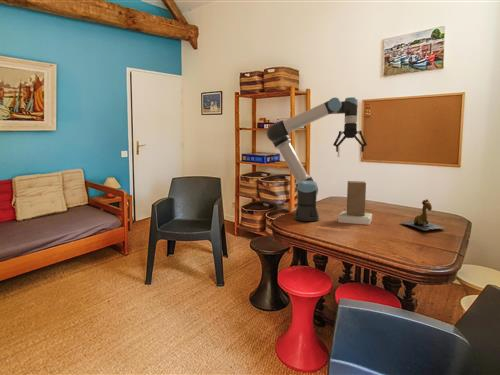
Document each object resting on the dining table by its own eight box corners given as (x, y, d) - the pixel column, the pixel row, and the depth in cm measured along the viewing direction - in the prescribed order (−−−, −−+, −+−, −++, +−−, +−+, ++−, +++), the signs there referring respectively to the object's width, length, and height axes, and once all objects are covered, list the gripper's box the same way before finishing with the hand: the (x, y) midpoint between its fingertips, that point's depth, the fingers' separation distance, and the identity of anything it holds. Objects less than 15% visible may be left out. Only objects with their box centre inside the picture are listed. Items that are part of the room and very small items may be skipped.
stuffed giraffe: (423, 230, 184) (425, 201, 182) (399, 223, 201) (400, 197, 199) (446, 228, 189) (447, 200, 187) (420, 222, 206) (422, 196, 204)
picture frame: (337, 222, 203) (338, 215, 203) (342, 217, 220) (342, 210, 219) (369, 224, 196) (369, 218, 196) (372, 219, 212) (372, 213, 212)
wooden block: (347, 215, 204) (348, 182, 202) (346, 212, 214) (347, 180, 212) (364, 216, 202) (366, 182, 200) (363, 213, 211) (364, 181, 209)
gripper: (329, 123, 213) (328, 157, 215) (371, 121, 203) (369, 157, 205) (331, 124, 220) (330, 157, 222) (372, 122, 210) (370, 157, 212)
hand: (349, 157), depth 214 cm, fingers open, 13 cm apart
